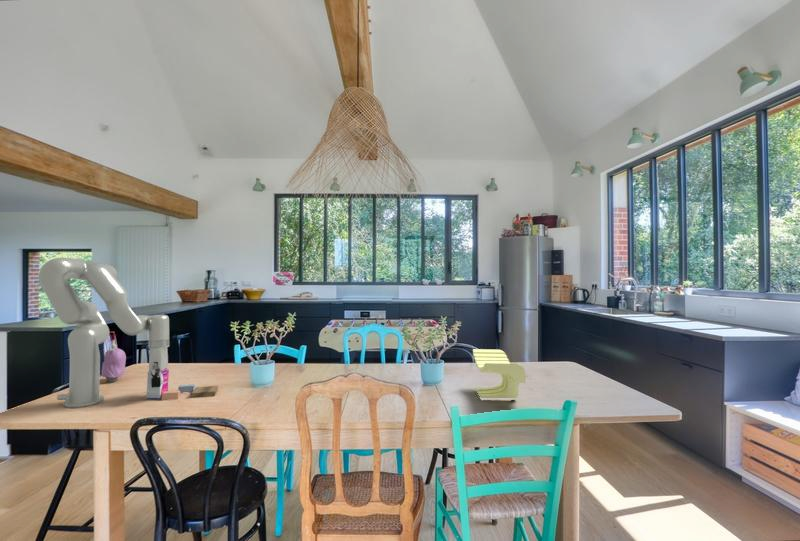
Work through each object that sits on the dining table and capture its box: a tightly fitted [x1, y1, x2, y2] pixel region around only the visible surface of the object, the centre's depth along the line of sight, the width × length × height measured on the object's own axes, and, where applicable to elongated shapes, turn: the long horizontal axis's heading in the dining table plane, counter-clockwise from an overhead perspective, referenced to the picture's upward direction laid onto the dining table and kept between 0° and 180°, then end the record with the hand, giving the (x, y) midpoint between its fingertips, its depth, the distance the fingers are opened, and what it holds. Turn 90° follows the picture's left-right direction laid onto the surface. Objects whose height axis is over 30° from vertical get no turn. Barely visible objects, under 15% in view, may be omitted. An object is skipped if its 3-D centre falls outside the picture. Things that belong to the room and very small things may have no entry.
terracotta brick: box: [161, 390, 181, 401], centre depth 159 cm, size 6×3×3 cm, turn 105°
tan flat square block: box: [190, 385, 219, 399], centre depth 166 cm, size 9×9×2 cm
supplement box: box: [145, 368, 170, 400], centre depth 161 cm, size 6×6×12 cm
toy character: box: [100, 339, 127, 383], centre depth 186 cm, size 12×10×20 cm
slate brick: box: [177, 383, 196, 394], centre depth 169 cm, size 6×3×3 cm, turn 108°
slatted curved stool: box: [472, 348, 526, 399], centre depth 165 cm, size 30×16×18 cm, turn 178°
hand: (159, 383), depth 161 cm, fingers open, 9 cm apart
